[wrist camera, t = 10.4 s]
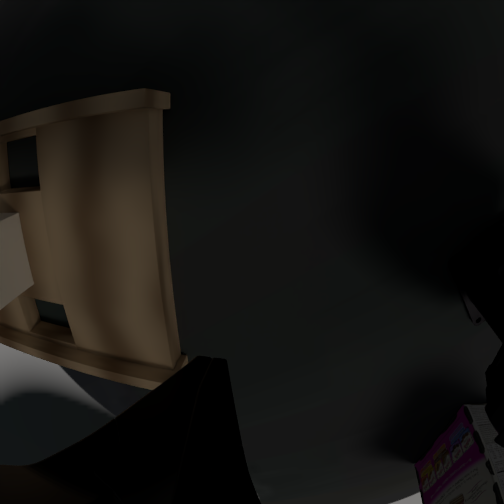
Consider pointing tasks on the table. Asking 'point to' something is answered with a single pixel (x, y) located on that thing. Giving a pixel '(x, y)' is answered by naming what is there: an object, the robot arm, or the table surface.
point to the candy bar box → (463, 462)
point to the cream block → (12, 259)
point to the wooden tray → (96, 238)
